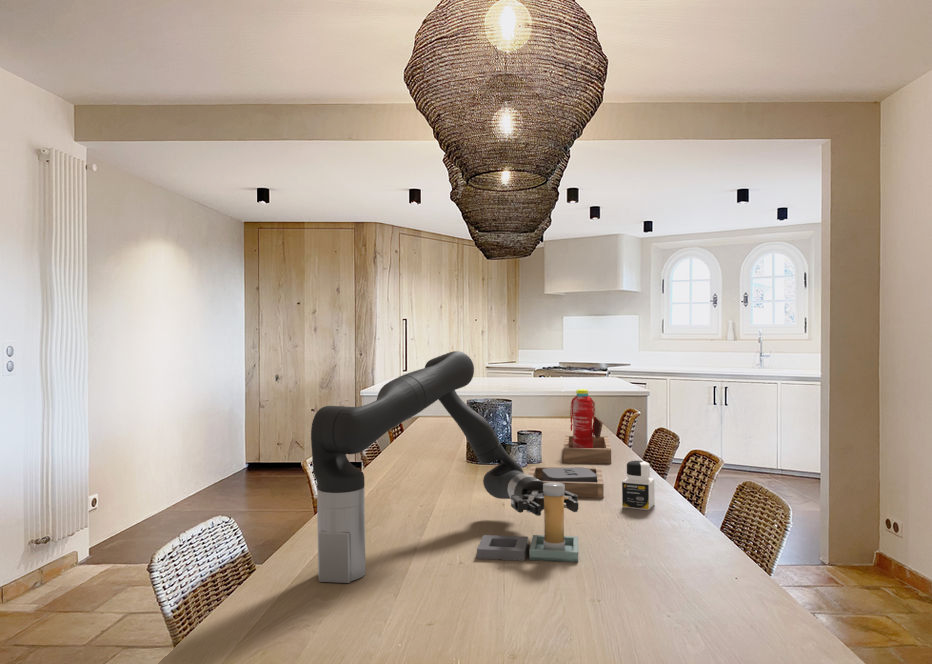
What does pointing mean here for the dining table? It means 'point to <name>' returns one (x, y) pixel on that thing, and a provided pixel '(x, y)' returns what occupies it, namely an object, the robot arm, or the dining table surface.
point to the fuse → (554, 516)
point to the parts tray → (554, 555)
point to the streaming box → (569, 474)
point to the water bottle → (584, 420)
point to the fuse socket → (502, 547)
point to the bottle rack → (588, 451)
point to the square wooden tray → (577, 483)
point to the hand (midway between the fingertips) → (558, 509)
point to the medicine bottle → (638, 486)
